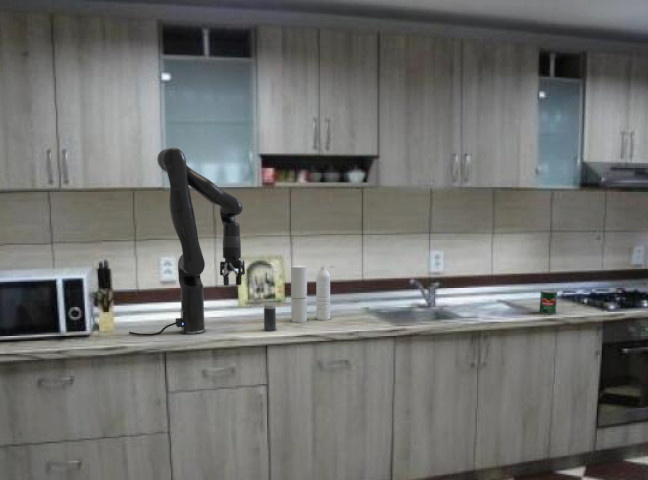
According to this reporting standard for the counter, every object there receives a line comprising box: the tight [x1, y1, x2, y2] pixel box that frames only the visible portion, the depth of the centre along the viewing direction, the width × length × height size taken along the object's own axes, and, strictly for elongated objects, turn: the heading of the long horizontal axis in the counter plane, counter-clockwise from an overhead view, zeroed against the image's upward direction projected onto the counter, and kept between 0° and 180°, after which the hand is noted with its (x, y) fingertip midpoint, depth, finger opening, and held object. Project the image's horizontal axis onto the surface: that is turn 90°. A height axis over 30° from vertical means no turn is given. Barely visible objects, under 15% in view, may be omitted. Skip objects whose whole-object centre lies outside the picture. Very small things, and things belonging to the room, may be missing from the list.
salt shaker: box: [263, 303, 277, 332], centre depth 264 cm, size 5×5×11 cm
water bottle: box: [315, 264, 335, 321], centre depth 287 cm, size 9×6×25 cm
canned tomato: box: [538, 289, 558, 315], centre depth 306 cm, size 8×8×11 cm
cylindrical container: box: [290, 265, 308, 323], centre depth 282 cm, size 7×7×25 cm
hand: (232, 285), depth 262 cm, fingers open, 8 cm apart
